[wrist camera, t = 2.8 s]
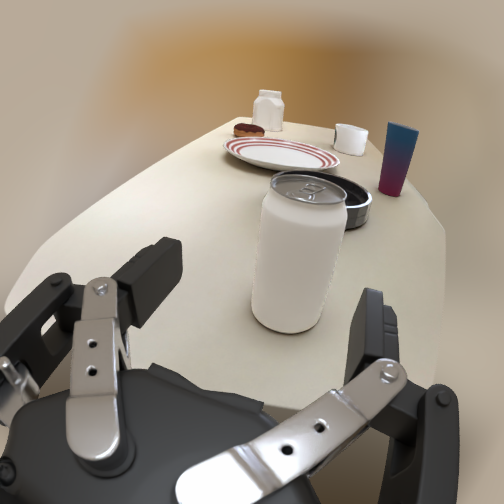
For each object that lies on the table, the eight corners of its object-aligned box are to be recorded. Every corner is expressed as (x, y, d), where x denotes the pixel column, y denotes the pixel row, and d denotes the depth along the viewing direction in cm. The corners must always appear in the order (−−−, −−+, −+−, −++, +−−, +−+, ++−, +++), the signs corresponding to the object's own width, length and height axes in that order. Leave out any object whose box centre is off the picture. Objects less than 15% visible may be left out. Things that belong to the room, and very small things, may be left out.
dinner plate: (310, 149, 85) (311, 139, 83) (359, 183, 63) (362, 169, 61) (215, 146, 78) (216, 134, 77) (234, 180, 56) (235, 163, 55)
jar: (248, 128, 107) (251, 89, 99) (255, 125, 115) (258, 89, 107) (279, 132, 105) (283, 93, 97) (283, 129, 113) (287, 92, 105)
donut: (265, 141, 89) (266, 128, 87) (232, 138, 88) (233, 126, 86) (263, 135, 98) (264, 123, 95) (233, 133, 97) (234, 121, 95)
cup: (369, 188, 61) (383, 120, 53) (381, 184, 65) (394, 122, 57) (397, 200, 57) (413, 130, 49) (407, 195, 61) (422, 131, 53)
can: (236, 314, 27) (246, 185, 21) (273, 280, 32) (289, 167, 25) (300, 347, 24) (335, 215, 18) (329, 305, 29) (362, 189, 23)
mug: (365, 158, 86) (370, 133, 81) (332, 151, 87) (336, 126, 83) (361, 149, 97) (365, 127, 92) (331, 143, 98) (335, 121, 94)
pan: (331, 188, 58) (334, 170, 56) (385, 227, 45) (391, 205, 43) (254, 191, 52) (256, 170, 50) (297, 237, 40) (302, 211, 38)
